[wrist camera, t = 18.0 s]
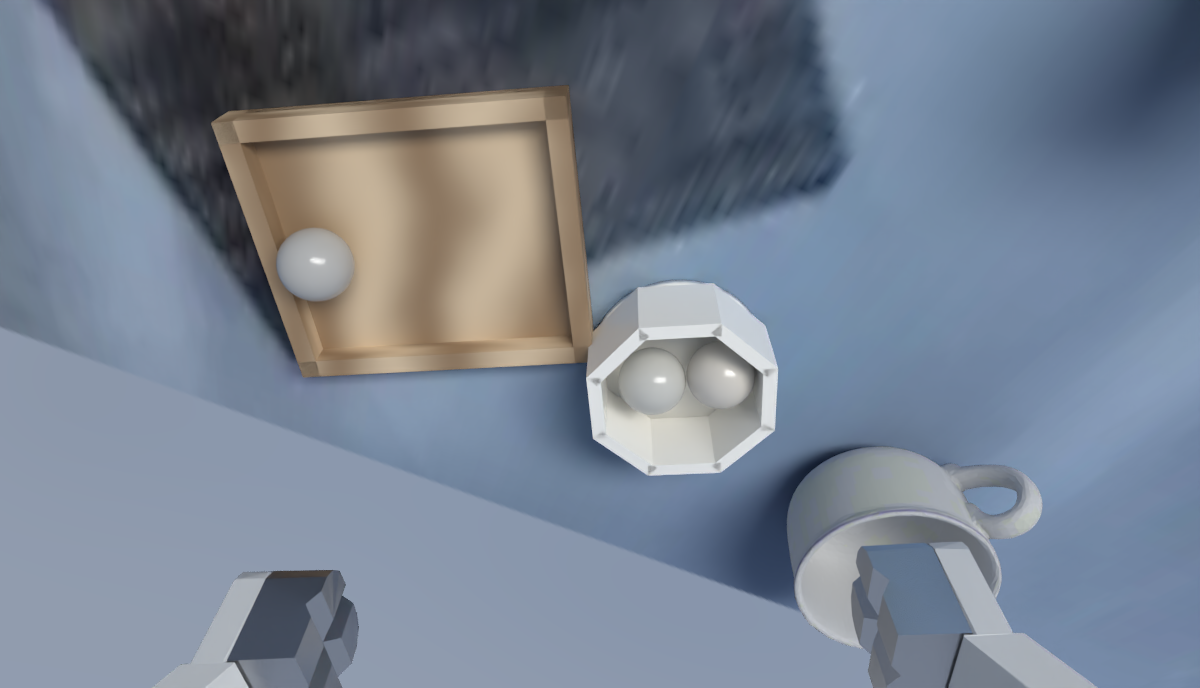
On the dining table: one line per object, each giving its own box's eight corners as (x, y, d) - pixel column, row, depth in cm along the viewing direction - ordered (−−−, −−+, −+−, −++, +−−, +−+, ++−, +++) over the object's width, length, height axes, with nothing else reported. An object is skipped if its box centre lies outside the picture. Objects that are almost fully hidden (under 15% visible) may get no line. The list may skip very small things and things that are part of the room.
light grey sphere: (653, 380, 43) (607, 409, 41) (651, 327, 41) (601, 354, 39) (700, 406, 41) (653, 438, 39) (699, 351, 39) (649, 381, 37)
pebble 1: (304, 281, 39) (277, 317, 36) (282, 218, 37) (253, 249, 34) (371, 277, 39) (350, 313, 36) (353, 213, 37) (329, 244, 34)
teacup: (811, 566, 51) (839, 674, 44) (743, 461, 46) (764, 564, 39) (1022, 493, 47) (1088, 599, 40) (972, 368, 42) (1038, 466, 35)
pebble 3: (747, 426, 39) (764, 386, 41) (742, 369, 37) (760, 330, 39) (681, 418, 40) (701, 379, 43) (673, 362, 38) (695, 325, 41)
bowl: (599, 424, 45) (597, 477, 41) (585, 285, 40) (580, 331, 36) (759, 416, 44) (772, 470, 40) (765, 274, 39) (780, 320, 35)
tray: (314, 358, 43) (303, 377, 41) (228, 111, 35) (210, 122, 34) (594, 343, 42) (593, 361, 40) (568, 84, 34) (565, 95, 33)
